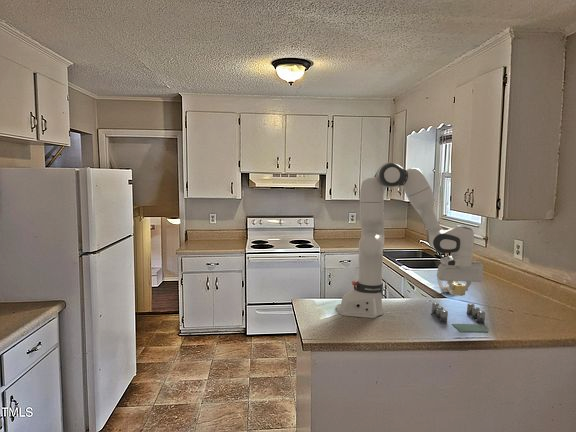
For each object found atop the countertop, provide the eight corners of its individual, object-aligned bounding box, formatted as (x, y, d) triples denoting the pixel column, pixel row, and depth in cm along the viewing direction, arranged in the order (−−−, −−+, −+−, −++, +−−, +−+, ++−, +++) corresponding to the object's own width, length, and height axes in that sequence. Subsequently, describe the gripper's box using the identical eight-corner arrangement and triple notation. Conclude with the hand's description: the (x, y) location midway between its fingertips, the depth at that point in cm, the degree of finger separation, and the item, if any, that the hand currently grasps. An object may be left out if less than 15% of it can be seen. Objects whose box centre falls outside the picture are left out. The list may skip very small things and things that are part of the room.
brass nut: (455, 295, 179) (456, 285, 178) (450, 291, 185) (451, 282, 184) (466, 296, 179) (467, 286, 178) (460, 292, 185) (461, 282, 184)
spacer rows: (441, 323, 176) (442, 312, 176) (430, 312, 189) (431, 302, 189) (485, 323, 177) (486, 313, 176) (471, 313, 190) (472, 303, 189)
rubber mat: (459, 331, 167) (459, 330, 167) (451, 324, 175) (451, 323, 175) (487, 332, 167) (487, 331, 167) (478, 325, 175) (478, 324, 175)
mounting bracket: (455, 293, 228) (449, 275, 230) (464, 291, 223) (458, 273, 225) (442, 296, 221) (436, 277, 224) (451, 295, 216) (446, 275, 218)
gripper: (480, 260, 183) (477, 288, 185) (436, 258, 183) (434, 287, 185) (487, 263, 177) (484, 293, 179) (442, 261, 177) (439, 291, 178)
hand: (458, 290), depth 182 cm, fingers closed on brass nut, 5 cm apart
